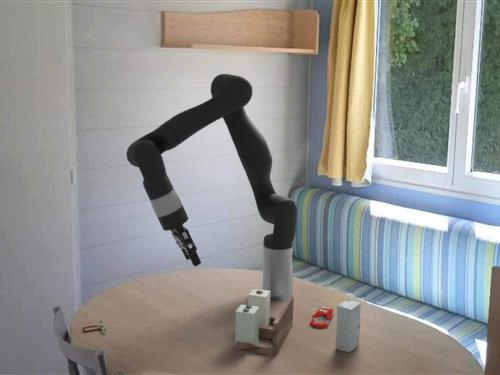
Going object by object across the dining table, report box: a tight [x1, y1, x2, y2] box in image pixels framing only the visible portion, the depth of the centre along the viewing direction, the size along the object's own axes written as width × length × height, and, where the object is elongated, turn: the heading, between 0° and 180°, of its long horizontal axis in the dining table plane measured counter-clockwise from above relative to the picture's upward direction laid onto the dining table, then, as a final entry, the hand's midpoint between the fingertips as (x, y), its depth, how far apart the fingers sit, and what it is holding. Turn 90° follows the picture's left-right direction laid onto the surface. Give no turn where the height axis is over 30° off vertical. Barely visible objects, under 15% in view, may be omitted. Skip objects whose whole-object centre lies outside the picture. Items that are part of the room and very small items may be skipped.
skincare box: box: [335, 299, 362, 353], centre depth 170 cm, size 6×4×12 cm
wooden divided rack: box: [235, 295, 295, 356], centre depth 173 cm, size 15×19×10 cm
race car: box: [309, 306, 335, 330], centre depth 185 cm, size 13×5×4 cm, turn 160°
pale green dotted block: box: [234, 304, 260, 348], centre depth 167 cm, size 5×5×10 cm
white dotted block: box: [247, 288, 271, 327], centre depth 179 cm, size 5×5×10 cm
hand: (193, 261), depth 174 cm, fingers open, 8 cm apart
